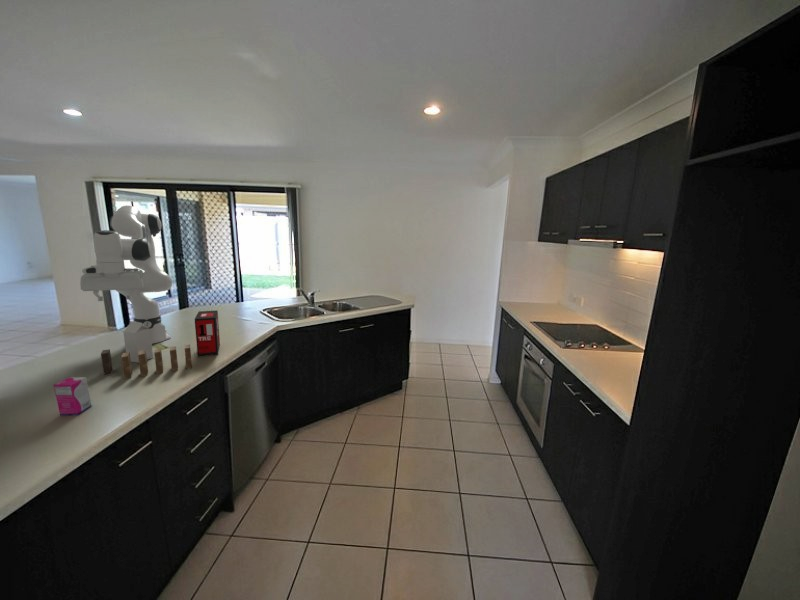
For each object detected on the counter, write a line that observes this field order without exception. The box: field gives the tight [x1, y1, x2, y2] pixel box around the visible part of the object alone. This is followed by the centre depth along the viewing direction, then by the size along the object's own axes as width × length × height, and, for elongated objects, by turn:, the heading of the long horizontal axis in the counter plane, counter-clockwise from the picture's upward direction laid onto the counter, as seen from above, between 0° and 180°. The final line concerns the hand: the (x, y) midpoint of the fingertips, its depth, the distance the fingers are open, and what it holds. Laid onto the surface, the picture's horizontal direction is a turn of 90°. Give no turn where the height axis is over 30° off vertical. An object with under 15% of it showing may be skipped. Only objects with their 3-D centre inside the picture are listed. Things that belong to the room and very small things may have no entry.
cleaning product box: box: [194, 309, 221, 358], centre depth 167 cm, size 16×9×20 cm, turn 26°
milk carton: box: [122, 321, 154, 364], centre depth 152 cm, size 7×7×19 cm
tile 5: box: [169, 346, 179, 372], centre depth 144 cm, size 2×5×10 cm, turn 34°
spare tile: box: [100, 348, 114, 376], centre depth 137 cm, size 2×5×10 cm, turn 34°
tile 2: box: [120, 352, 133, 380], centre depth 135 cm, size 2×5×10 cm, turn 34°
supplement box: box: [52, 376, 93, 416], centre depth 108 cm, size 6×6×12 cm
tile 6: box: [183, 344, 193, 370], centre depth 147 cm, size 2×5×10 cm, turn 35°
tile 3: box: [138, 350, 149, 377], centre depth 138 cm, size 2×5×10 cm, turn 34°
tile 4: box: [153, 347, 164, 375], centre depth 141 cm, size 2×5×10 cm, turn 34°
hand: (115, 300), depth 138 cm, fingers open, 8 cm apart
